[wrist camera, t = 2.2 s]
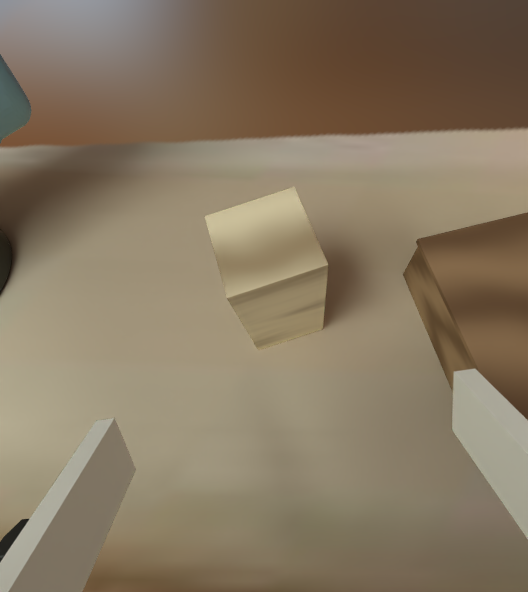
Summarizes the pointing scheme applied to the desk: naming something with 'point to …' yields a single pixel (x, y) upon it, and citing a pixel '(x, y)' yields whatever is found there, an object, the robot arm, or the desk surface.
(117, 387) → the desk surface
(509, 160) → the desk surface
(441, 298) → the walnut box
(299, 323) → the oak block
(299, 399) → the desk surface
